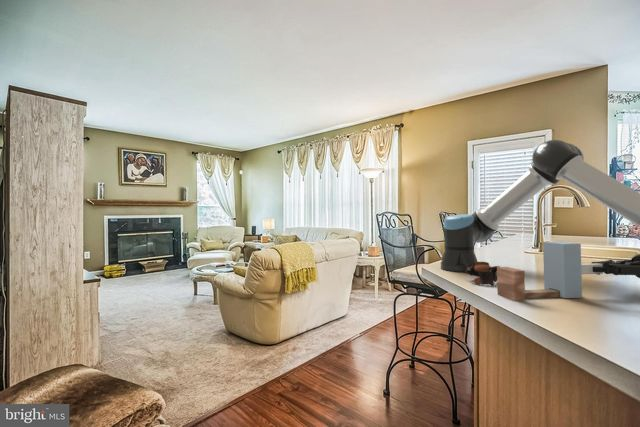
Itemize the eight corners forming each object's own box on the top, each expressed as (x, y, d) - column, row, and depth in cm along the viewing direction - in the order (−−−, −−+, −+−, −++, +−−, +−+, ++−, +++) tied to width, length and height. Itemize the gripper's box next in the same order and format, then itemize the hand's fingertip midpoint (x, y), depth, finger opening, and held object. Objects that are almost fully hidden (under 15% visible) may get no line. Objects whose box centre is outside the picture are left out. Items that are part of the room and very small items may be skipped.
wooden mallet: (514, 301, 82) (513, 271, 82) (497, 294, 89) (496, 267, 89) (587, 298, 83) (586, 268, 83) (565, 291, 90) (564, 265, 90)
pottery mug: (465, 285, 102) (460, 263, 107) (472, 293, 109) (467, 271, 113) (506, 280, 96) (499, 256, 101) (510, 288, 103) (503, 265, 107)
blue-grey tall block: (565, 298, 83) (563, 244, 83) (544, 291, 90) (543, 242, 90) (582, 297, 83) (580, 243, 83) (560, 291, 90) (558, 241, 90)
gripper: (683, 284, 82) (602, 287, 80) (630, 275, 95) (559, 277, 93) (682, 256, 82) (601, 259, 80) (630, 251, 95) (559, 253, 93)
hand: (579, 269), depth 87 cm, fingers closed
